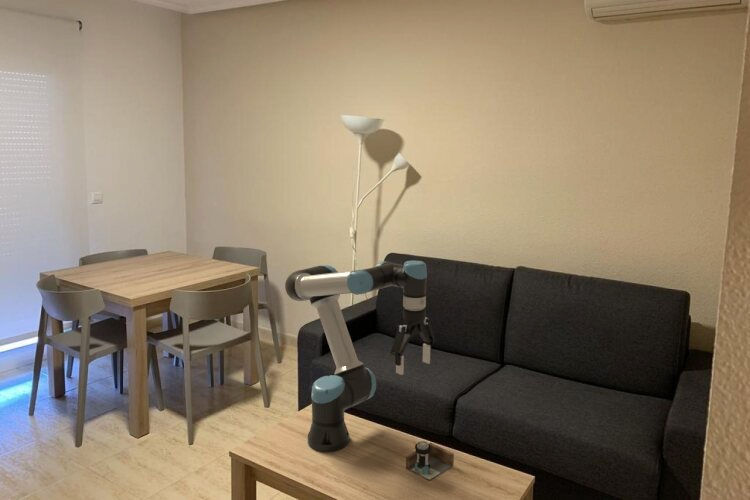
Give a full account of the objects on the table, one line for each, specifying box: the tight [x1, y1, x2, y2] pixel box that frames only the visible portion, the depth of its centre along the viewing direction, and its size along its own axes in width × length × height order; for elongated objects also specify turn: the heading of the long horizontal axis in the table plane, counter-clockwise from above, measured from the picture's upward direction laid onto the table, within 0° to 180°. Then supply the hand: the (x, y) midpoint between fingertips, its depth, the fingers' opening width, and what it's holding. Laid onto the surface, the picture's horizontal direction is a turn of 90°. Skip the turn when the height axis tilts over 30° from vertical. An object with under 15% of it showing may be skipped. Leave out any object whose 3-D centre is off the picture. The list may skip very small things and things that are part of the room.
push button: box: [414, 440, 434, 474], centre depth 196 cm, size 7×5×10 cm
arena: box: [405, 442, 455, 482], centre depth 201 cm, size 10×13×4 cm
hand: (413, 368), depth 201 cm, fingers open, 13 cm apart
